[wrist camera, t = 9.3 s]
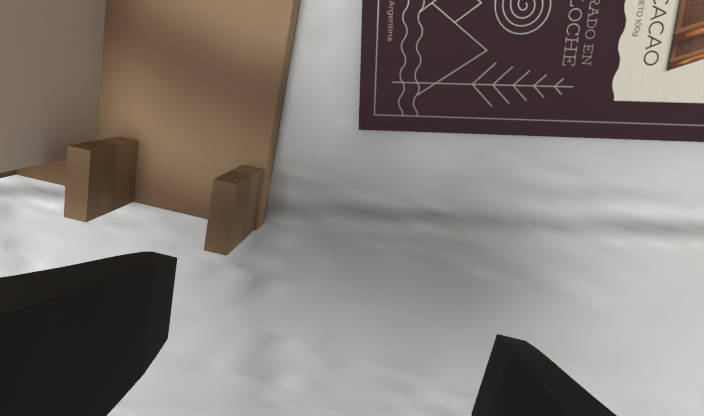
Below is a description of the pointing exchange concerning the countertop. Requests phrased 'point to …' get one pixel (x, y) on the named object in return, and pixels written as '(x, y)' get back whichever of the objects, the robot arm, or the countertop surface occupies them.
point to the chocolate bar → (534, 68)
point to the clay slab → (48, 78)
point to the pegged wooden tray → (184, 114)
